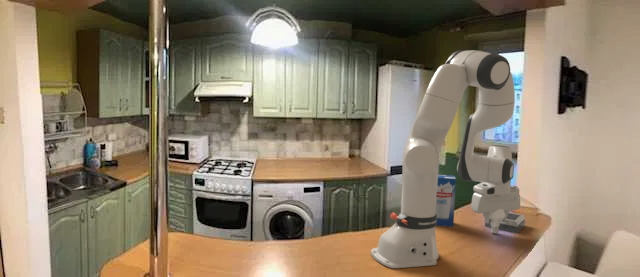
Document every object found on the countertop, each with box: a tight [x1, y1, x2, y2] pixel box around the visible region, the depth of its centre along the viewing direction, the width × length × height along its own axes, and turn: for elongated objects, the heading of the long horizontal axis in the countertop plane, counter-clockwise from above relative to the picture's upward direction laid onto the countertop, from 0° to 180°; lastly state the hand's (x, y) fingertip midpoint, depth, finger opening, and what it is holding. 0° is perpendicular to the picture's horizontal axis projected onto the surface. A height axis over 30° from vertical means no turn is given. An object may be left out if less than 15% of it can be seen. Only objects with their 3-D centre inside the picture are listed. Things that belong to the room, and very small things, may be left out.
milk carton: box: [436, 174, 457, 228], centre depth 156 cm, size 10×6×20 cm, turn 76°
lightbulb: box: [488, 209, 505, 235], centre depth 145 cm, size 6×6×11 cm
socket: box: [484, 211, 526, 234], centre depth 154 cm, size 12×12×4 cm
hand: (495, 222), depth 145 cm, fingers closed on lightbulb, 5 cm apart
